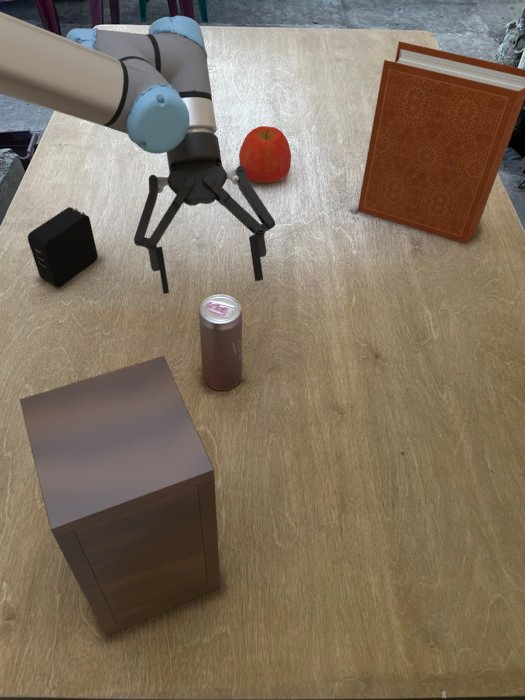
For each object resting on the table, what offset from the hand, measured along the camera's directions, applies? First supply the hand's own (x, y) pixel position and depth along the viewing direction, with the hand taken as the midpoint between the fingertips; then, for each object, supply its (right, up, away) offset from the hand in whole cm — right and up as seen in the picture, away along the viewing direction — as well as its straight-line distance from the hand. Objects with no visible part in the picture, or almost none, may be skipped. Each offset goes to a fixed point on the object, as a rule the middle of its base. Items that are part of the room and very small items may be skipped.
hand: (213, 287), depth 90 cm
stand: (-7, -35, -13) cm, 38 cm away
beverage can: (+1, -13, +6) cm, 15 cm away
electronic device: (-27, +5, +21) cm, 35 cm away
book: (+38, +17, +34) cm, 54 cm away
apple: (+7, +28, +42) cm, 51 cm away
